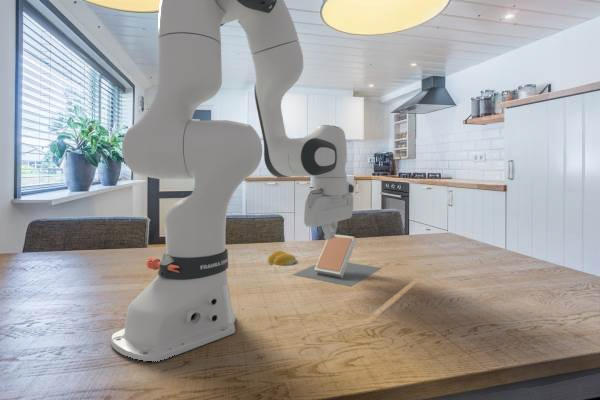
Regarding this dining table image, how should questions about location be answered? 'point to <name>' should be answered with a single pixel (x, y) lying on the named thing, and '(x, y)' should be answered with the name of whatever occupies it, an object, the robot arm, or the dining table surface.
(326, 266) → the tile
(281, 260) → the bread roll
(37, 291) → the dining table surface
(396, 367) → the dining table surface
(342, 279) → the mat
